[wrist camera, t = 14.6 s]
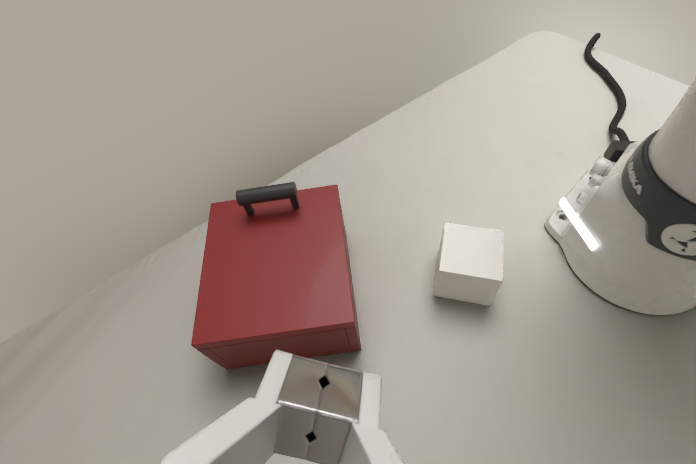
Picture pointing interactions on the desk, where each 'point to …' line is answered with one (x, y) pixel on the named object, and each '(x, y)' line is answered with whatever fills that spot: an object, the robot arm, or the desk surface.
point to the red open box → (289, 343)
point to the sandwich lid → (273, 267)
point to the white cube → (469, 264)
